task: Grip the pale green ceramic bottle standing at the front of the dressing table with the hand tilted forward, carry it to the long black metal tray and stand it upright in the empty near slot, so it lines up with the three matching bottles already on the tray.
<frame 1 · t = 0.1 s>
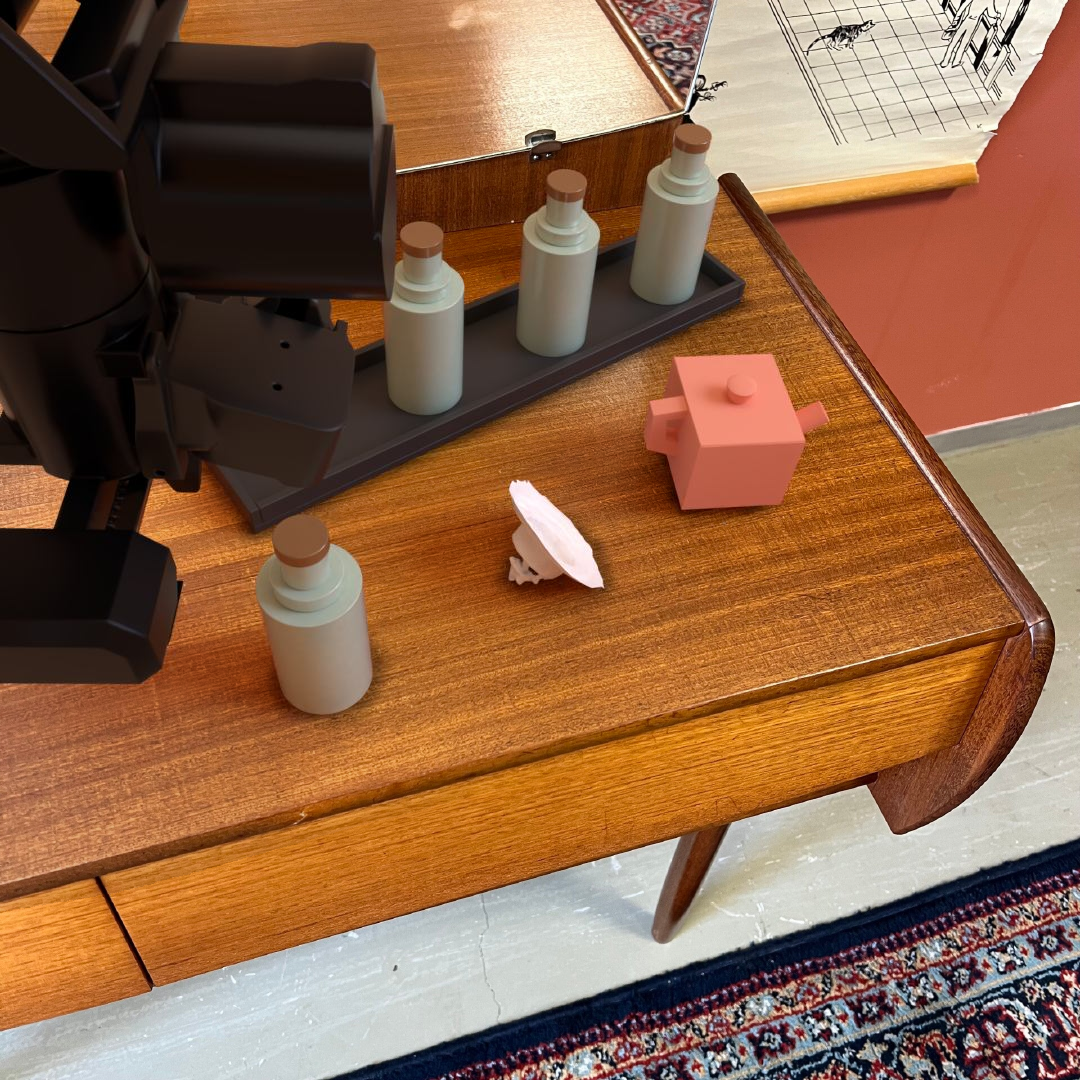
hand: (168, 574, 42), 15 cm above the table, tool pointing down, fingers open, 9 cm apart
bottle middle: (550, 333, 75), resting on tray
bottle near: (425, 389, 71), resting on tray
pale pink ornate lid: (550, 565, 63), on the table
bottle far: (662, 283, 80), resting on tray
pink cube teapot: (721, 473, 69), on the table
tray: (489, 366, 73), on the table
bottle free: (326, 673, 57), on the table
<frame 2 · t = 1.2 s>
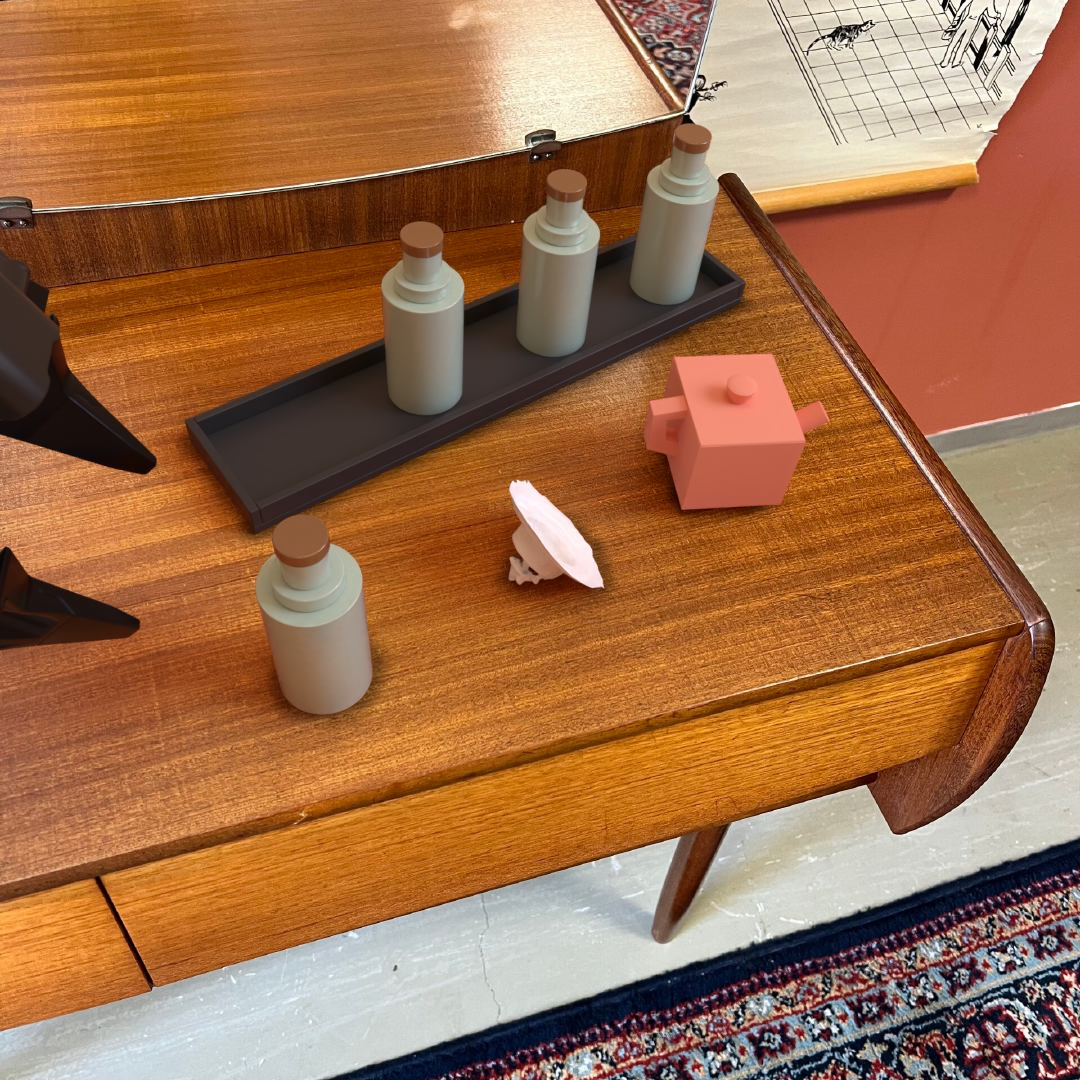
hand: (144, 543, 46), 13 cm above the table, tool tilted 45°, fingers open, 9 cm apart
nothing on the table moved.
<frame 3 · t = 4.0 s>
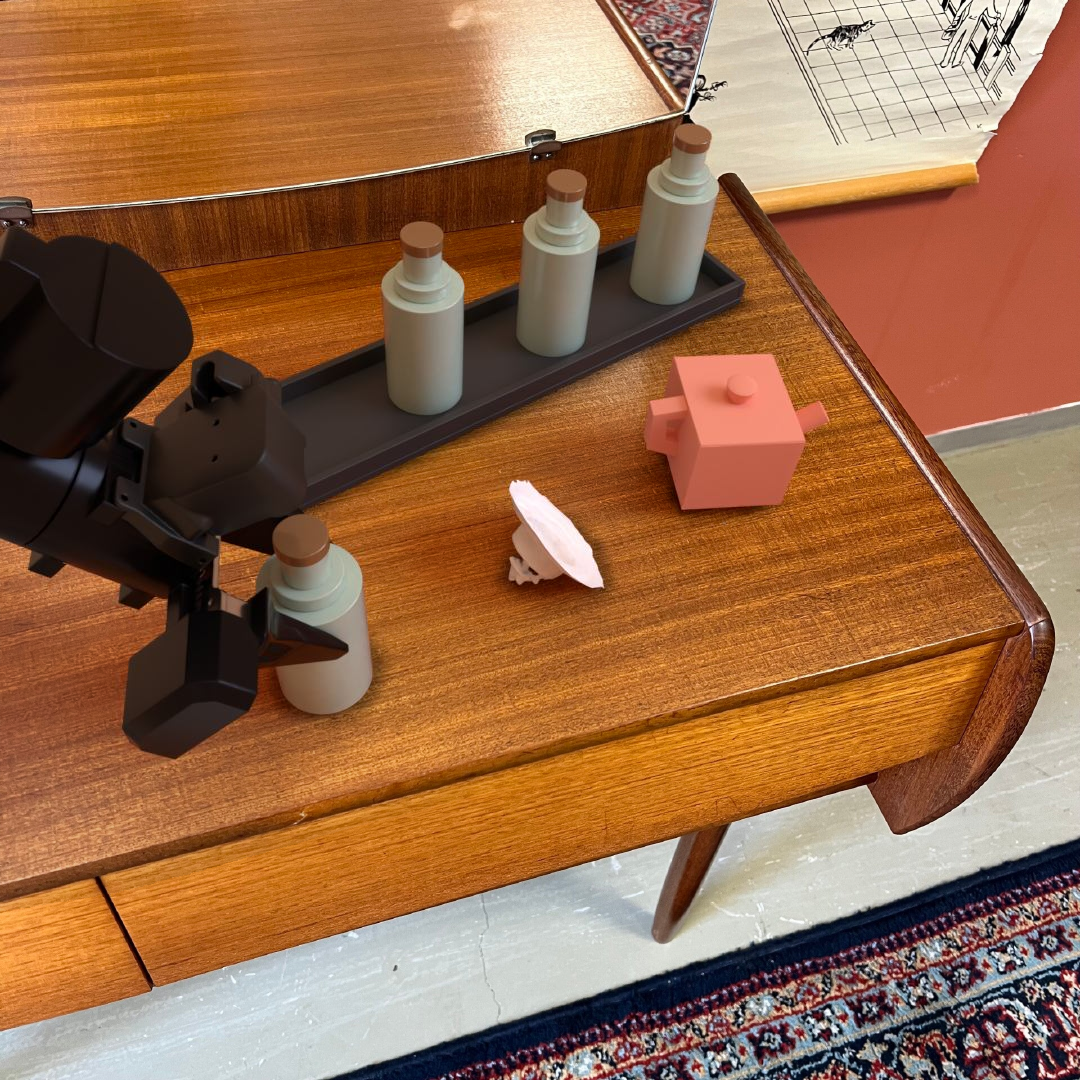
hand: (341, 607, 52), 7 cm above the table, tool tilted 45°, fingers closed on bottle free, 5 cm apart
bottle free: (326, 673, 57), on the table, touching gripper
everything else where it was.
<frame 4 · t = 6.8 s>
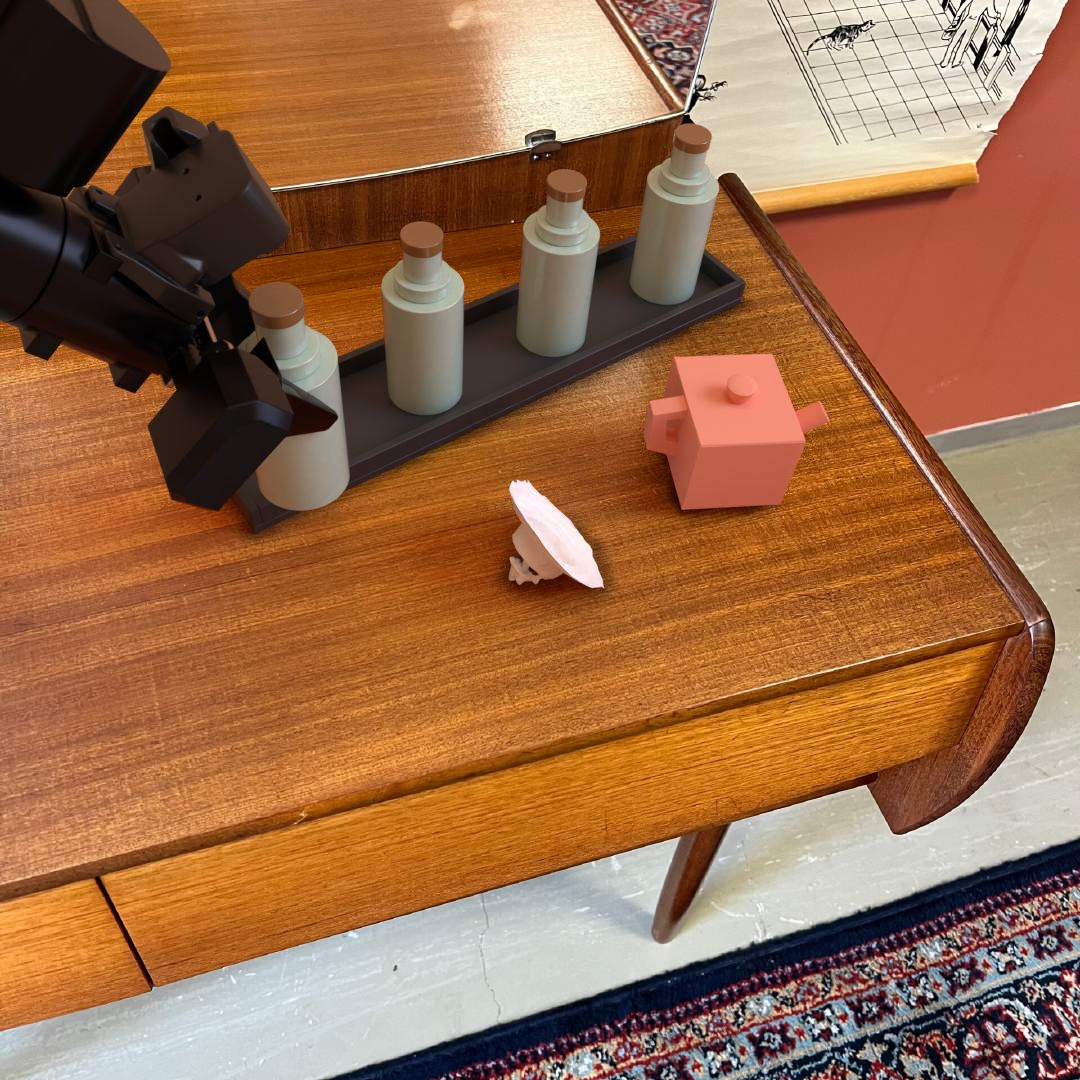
hand: (316, 387, 53), 12 cm above the table, tool tilted 45°, fingers closed on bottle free, 5 cm apart
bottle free: (303, 476, 58), point 6 cm above the table, touching gripper
everything else where it was.
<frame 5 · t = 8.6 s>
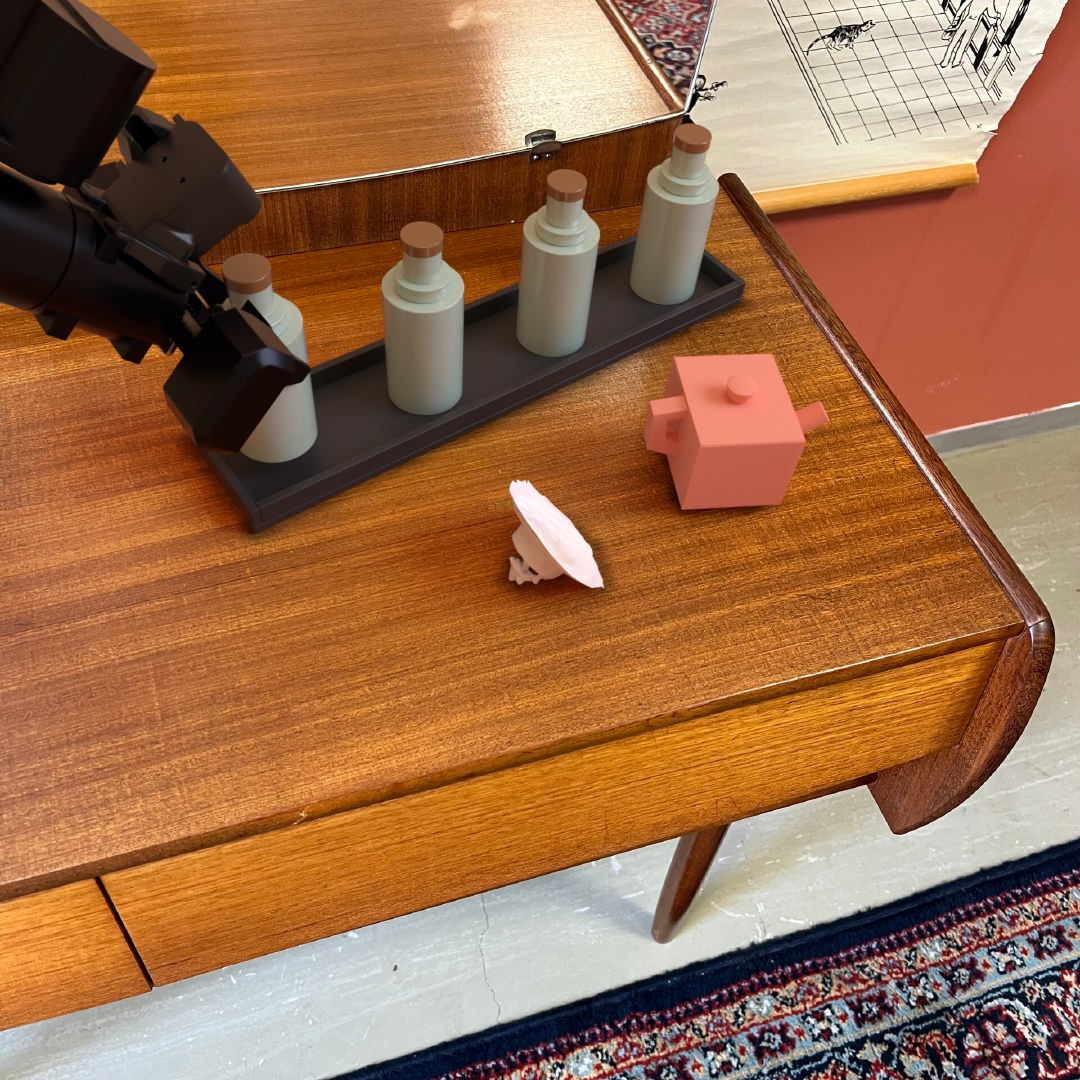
hand: (283, 346, 60), 9 cm above the table, tool tilted 45°, fingers closed on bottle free, 5 cm apart
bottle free: (276, 432, 64), point 3 cm above the table, touching gripper
everything else where it was.
when the fingers open (7 cm above the table, at t = 9.7 s): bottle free stays where it is, resting on tray.
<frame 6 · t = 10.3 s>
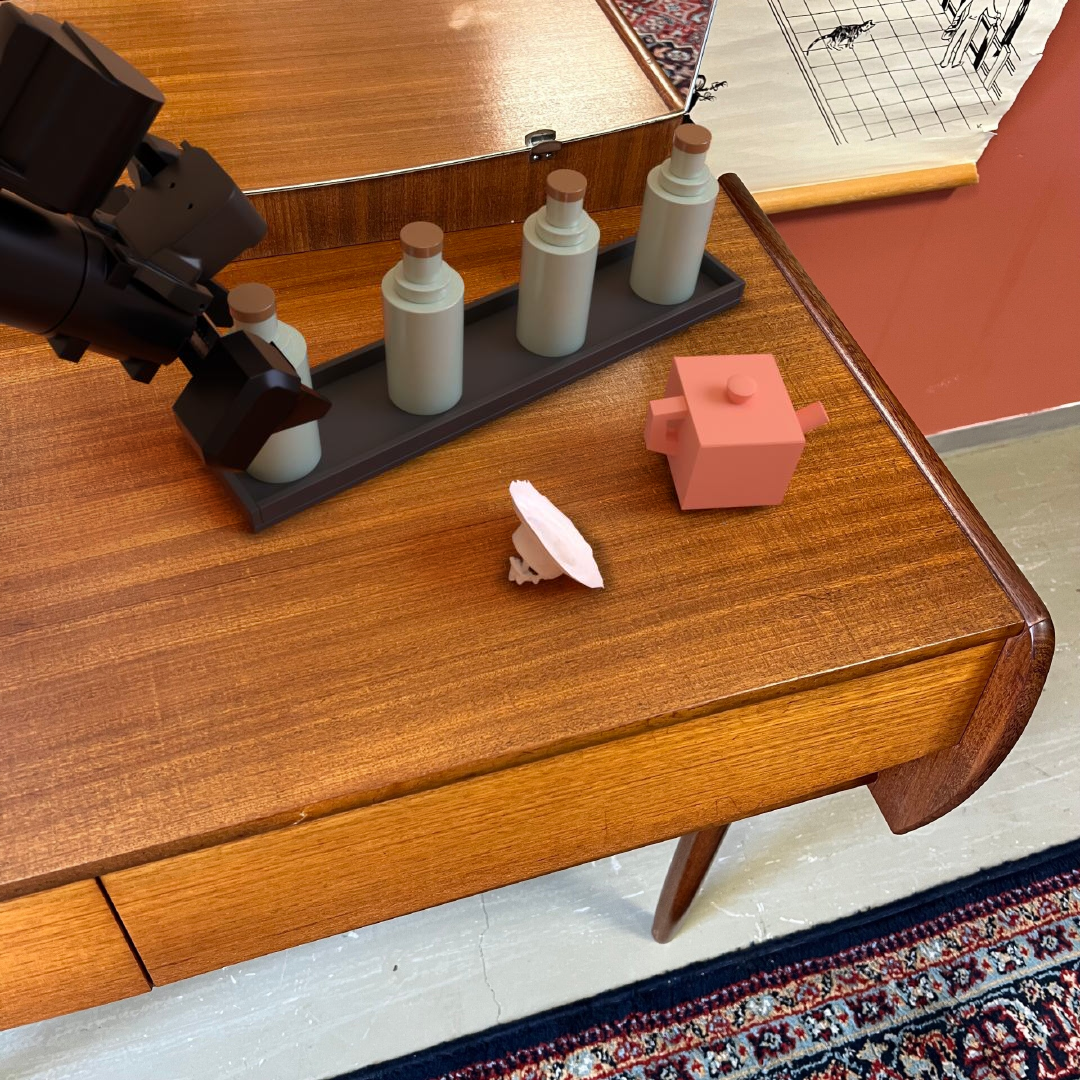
hand: (288, 363, 61), 8 cm above the table, tool tilted 45°, fingers open, 9 cm apart
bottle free: (280, 453, 66), point 1 cm above the table, touching tray
everything else where it was.
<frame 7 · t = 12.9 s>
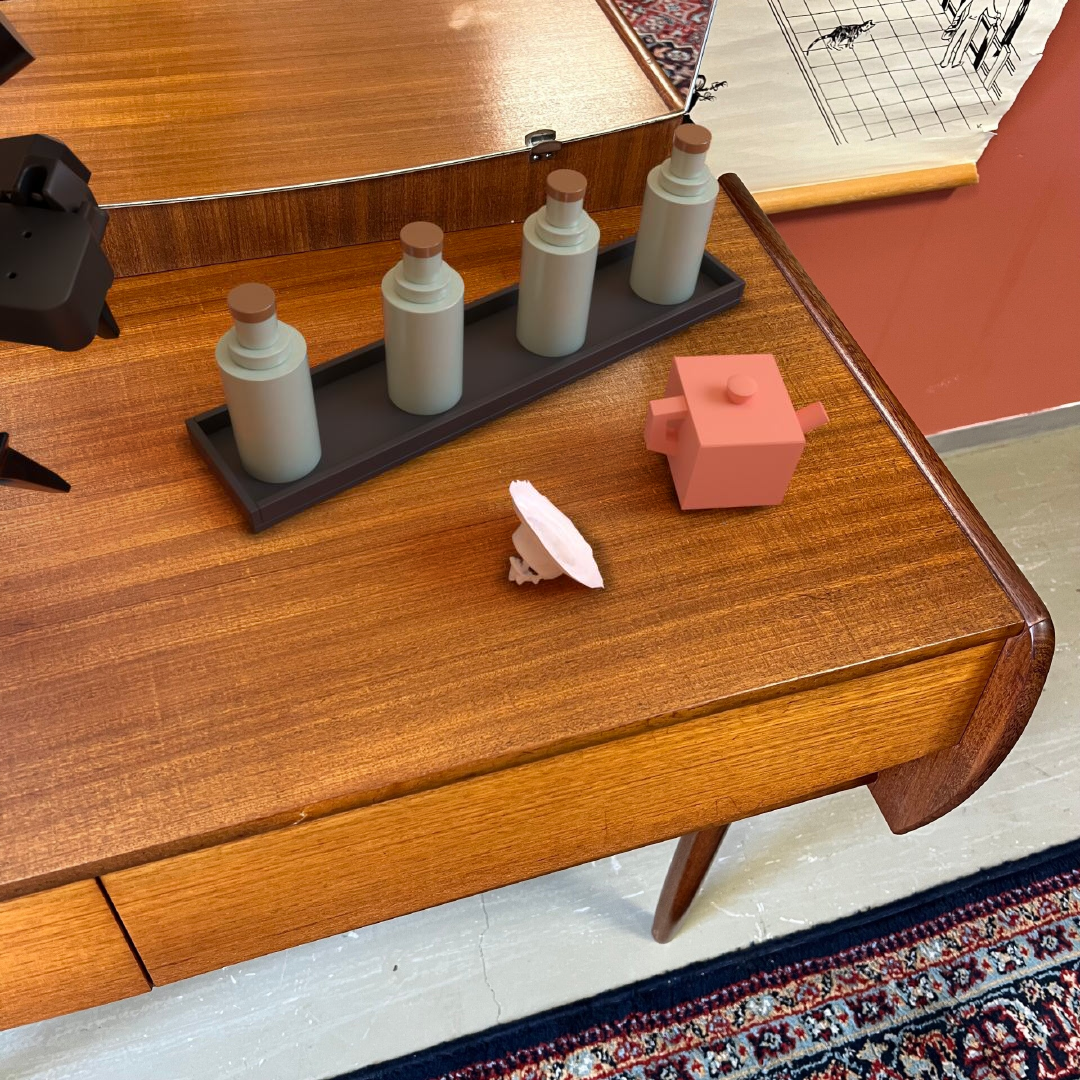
hand: (89, 410, 53), 11 cm above the table, tool tilted 25°, fingers open, 9 cm apart
nothing on the table moved.
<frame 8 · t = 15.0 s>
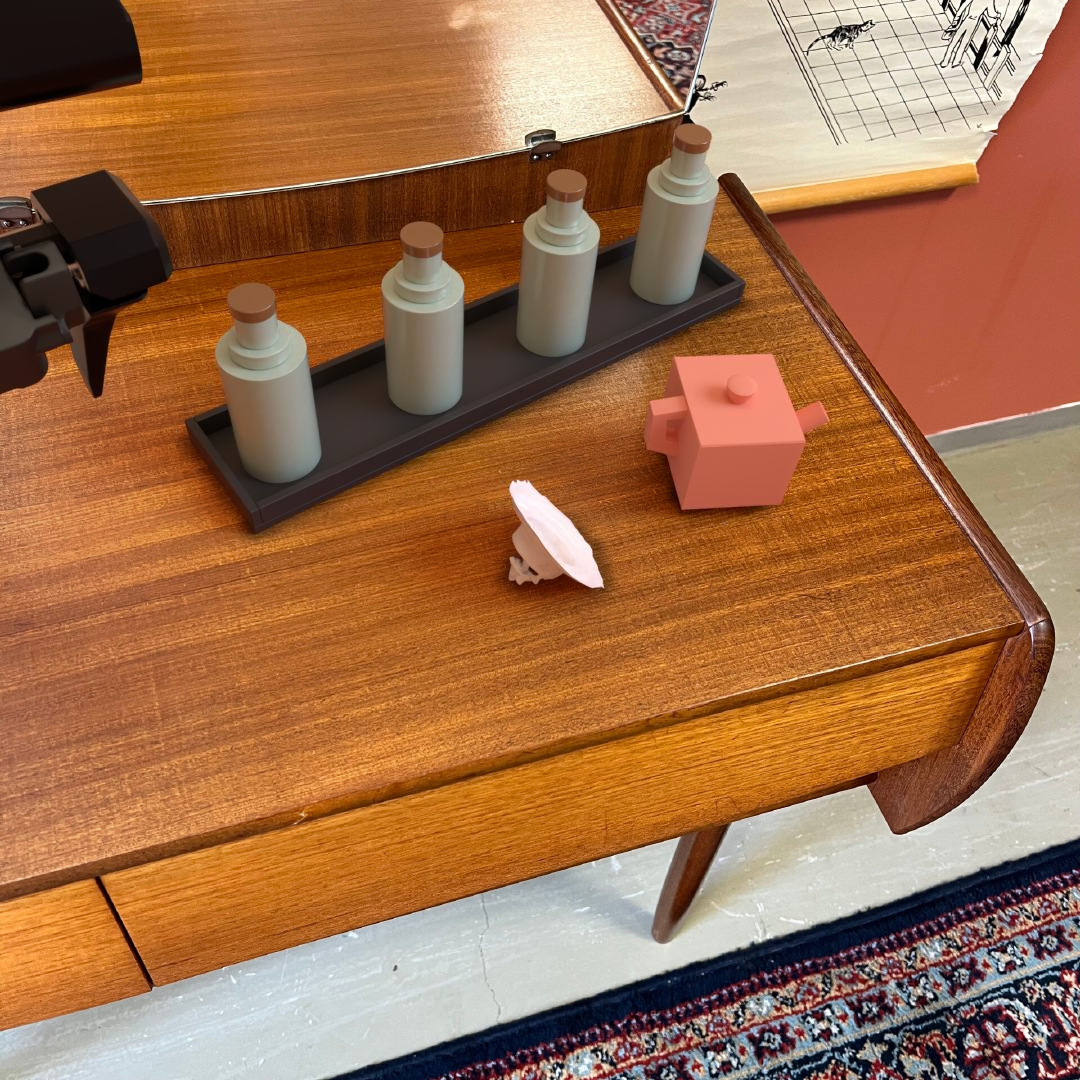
hand: (2, 428, 49), 13 cm above the table, tool pointing down, fingers open, 9 cm apart
nothing on the table moved.
at the end: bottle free 0.1 cm from the target spot in the tray, point 0.6 cm above the tray's base; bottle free tilted 0°; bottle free 33.1 cm from the bottle far (horizontally) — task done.
